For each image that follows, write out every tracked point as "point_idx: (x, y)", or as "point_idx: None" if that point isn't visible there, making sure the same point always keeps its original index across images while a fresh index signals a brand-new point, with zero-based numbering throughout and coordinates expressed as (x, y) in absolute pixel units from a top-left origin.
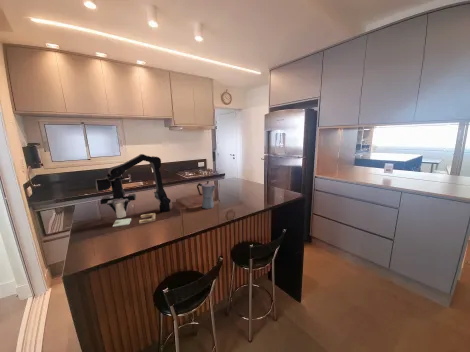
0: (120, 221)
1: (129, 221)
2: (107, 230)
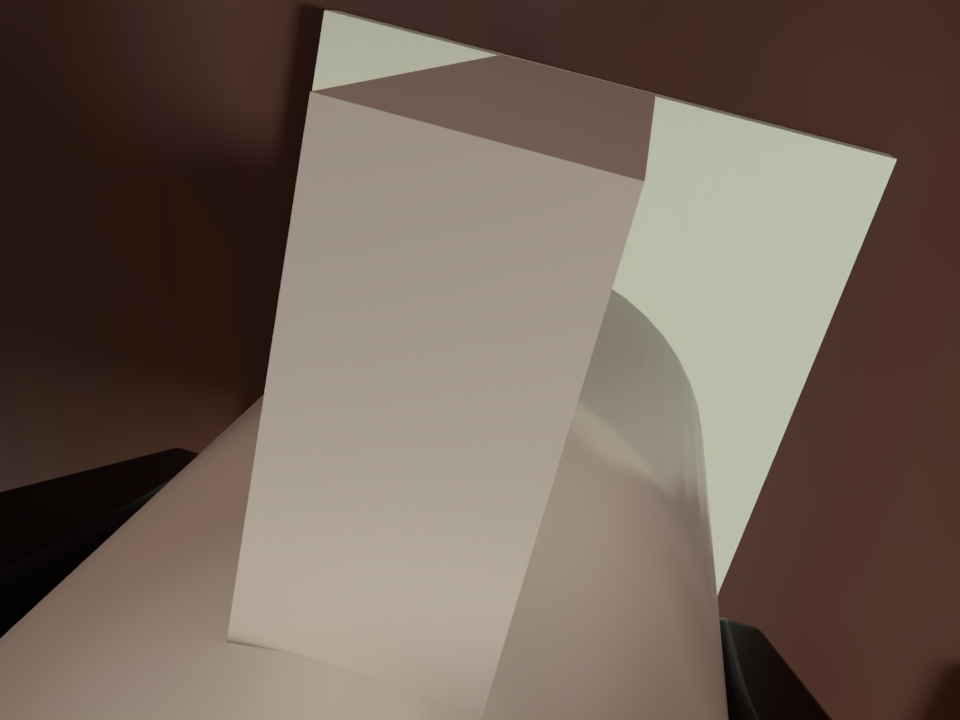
0: None
1: (752, 477)
2: None
